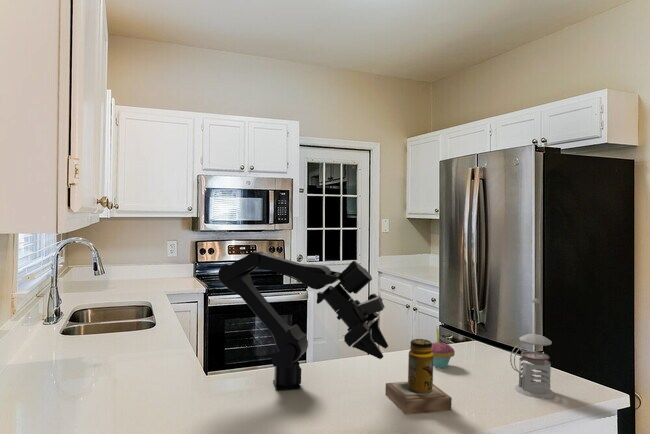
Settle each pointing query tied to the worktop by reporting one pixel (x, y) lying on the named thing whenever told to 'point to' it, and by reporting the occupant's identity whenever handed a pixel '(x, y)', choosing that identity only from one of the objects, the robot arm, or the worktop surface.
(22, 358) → the worktop surface
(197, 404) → the worktop surface
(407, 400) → the walnut base
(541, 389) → the french press
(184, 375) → the worktop surface
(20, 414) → the worktop surface
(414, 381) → the condiment
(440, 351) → the cupcake
